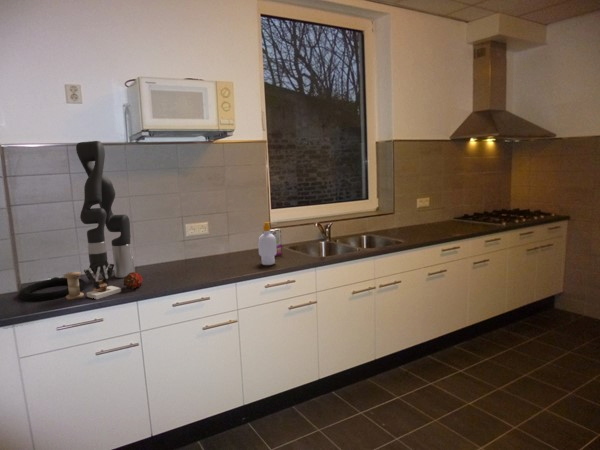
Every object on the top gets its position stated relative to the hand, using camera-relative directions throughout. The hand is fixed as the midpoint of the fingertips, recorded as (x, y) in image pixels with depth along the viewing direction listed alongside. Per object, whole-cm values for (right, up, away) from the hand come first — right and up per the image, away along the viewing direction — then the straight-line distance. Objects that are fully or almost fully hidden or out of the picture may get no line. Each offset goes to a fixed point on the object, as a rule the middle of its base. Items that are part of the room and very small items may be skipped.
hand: (101, 287), depth 187 cm
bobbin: (-11, -4, -3) cm, 12 cm away
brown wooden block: (-2, -2, +2) cm, 3 cm away
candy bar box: (+76, +10, +66) cm, 101 cm away
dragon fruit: (+11, -2, +9) cm, 15 cm away
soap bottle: (+74, +6, +46) cm, 87 cm away
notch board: (+1, -3, 0) cm, 3 cm away
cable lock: (-27, -4, +8) cm, 28 cm away
